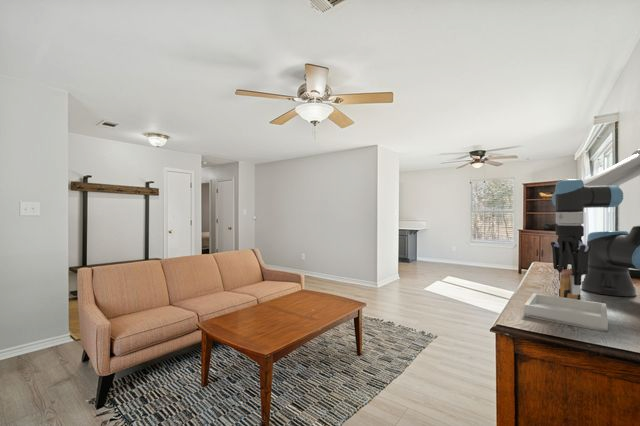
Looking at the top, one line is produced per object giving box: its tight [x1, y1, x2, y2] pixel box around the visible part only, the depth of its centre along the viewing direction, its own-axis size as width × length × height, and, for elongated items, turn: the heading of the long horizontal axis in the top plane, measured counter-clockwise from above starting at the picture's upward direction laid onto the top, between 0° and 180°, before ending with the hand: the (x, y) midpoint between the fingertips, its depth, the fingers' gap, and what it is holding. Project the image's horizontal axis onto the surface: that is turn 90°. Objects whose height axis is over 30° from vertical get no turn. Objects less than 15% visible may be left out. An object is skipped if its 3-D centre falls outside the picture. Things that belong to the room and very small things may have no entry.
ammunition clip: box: [558, 267, 582, 300], centre depth 104 cm, size 11×2×12 cm, turn 117°
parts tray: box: [523, 292, 609, 333], centre depth 91 cm, size 18×18×4 cm
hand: (569, 292), depth 104 cm, fingers closed on ammunition clip, 3 cm apart
